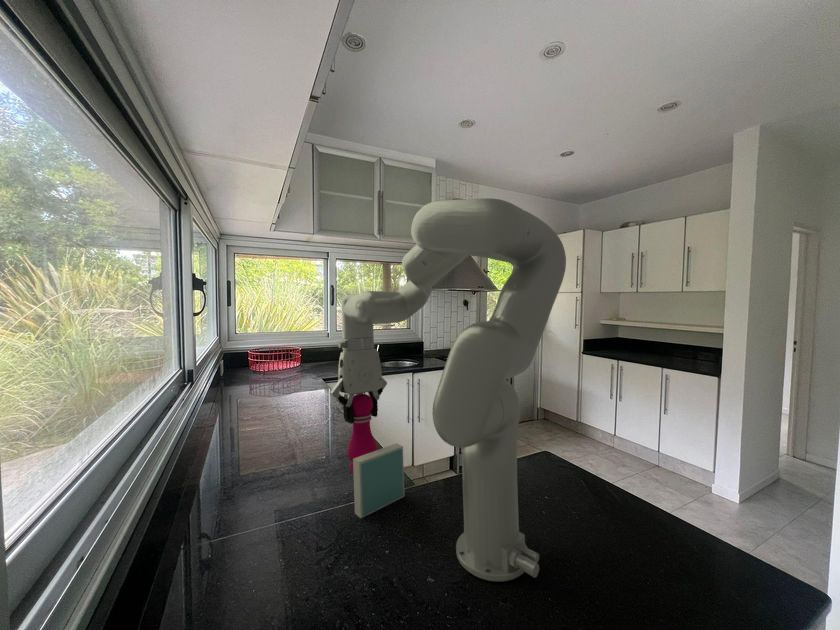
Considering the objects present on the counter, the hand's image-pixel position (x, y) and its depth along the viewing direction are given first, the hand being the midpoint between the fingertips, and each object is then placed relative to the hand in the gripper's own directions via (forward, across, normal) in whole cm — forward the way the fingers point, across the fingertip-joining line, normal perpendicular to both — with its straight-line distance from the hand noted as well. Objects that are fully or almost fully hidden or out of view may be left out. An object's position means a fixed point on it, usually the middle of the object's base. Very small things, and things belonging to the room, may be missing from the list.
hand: (361, 418), depth 81 cm
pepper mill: (+13, 0, 0) cm, 13 cm away
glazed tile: (+18, 0, -7) cm, 20 cm away
